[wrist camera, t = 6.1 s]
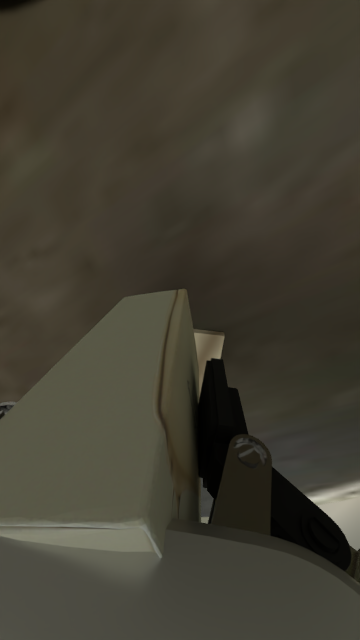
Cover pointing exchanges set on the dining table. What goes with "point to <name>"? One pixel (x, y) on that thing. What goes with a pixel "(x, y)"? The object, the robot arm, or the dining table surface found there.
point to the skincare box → (109, 435)
